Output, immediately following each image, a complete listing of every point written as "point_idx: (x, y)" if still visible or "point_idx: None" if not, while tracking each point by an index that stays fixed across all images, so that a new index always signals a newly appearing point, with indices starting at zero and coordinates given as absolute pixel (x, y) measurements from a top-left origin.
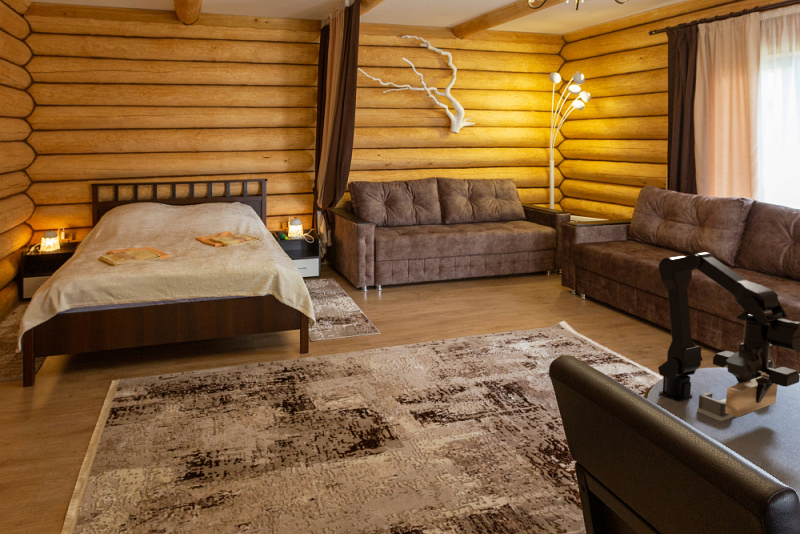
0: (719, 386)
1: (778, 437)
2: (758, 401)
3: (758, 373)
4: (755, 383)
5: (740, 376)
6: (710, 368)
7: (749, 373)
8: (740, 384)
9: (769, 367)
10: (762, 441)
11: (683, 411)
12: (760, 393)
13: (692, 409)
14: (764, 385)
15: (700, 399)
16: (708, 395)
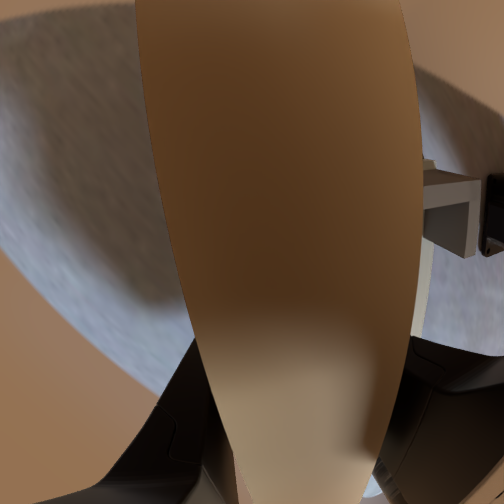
0: None
1: (88, 277)
2: (193, 342)
3: None
4: (292, 467)
5: (482, 397)
6: None
7: (421, 496)
8: (391, 286)
9: (396, 502)
10: (75, 173)
11: (443, 114)
12: (162, 395)
13: (441, 162)
14: (83, 492)
15: (462, 175)
16: (464, 226)
